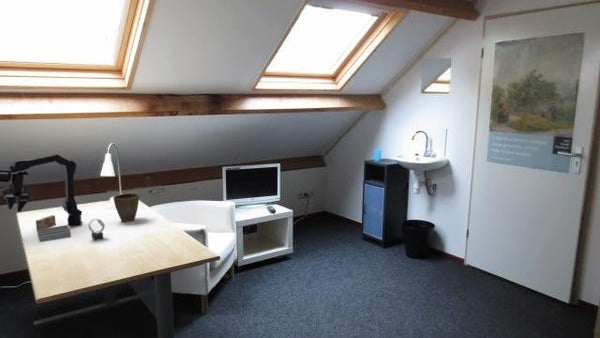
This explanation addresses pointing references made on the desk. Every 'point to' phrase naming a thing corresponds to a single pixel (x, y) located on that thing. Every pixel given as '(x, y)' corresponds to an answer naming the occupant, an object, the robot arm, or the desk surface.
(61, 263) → the desk surface
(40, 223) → the panel
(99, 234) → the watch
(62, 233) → the rack
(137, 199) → the plant pot
